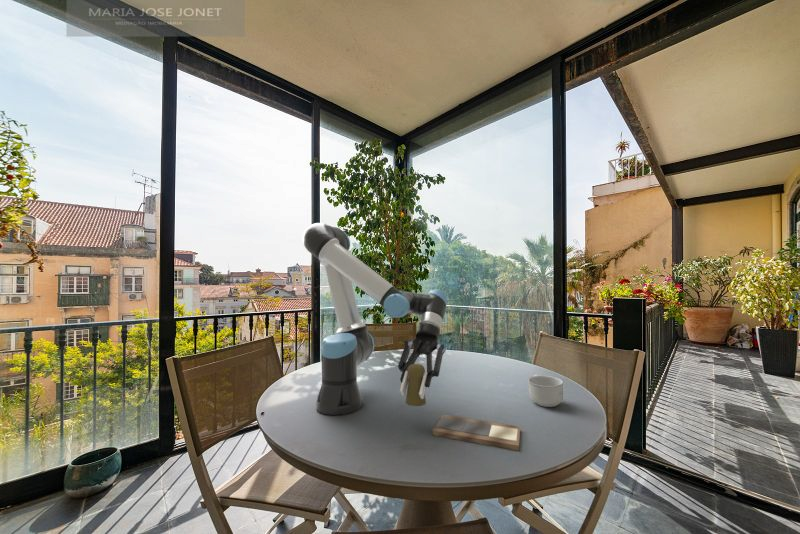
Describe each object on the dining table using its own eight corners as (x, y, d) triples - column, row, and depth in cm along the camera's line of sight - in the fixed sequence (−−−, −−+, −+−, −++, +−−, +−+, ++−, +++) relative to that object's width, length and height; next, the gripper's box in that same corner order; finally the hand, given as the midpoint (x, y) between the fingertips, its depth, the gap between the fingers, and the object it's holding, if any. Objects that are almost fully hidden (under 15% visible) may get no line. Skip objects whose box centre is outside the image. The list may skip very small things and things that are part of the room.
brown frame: (432, 435, 87) (432, 430, 87) (443, 418, 97) (443, 414, 97) (518, 450, 78) (518, 445, 78) (520, 430, 89) (520, 426, 89)
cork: (428, 400, 96) (429, 363, 97) (421, 407, 91) (422, 368, 91) (410, 396, 99) (410, 361, 99) (402, 403, 93) (402, 366, 94)
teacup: (568, 411, 101) (567, 385, 101) (531, 409, 103) (531, 384, 104) (555, 395, 115) (555, 373, 115) (524, 393, 117) (523, 371, 117)
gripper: (457, 337, 106) (444, 406, 90) (406, 333, 113) (386, 396, 97) (454, 324, 101) (439, 393, 86) (401, 320, 108) (379, 384, 93)
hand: (411, 394), depth 91 cm, fingers closed on cork, 5 cm apart
